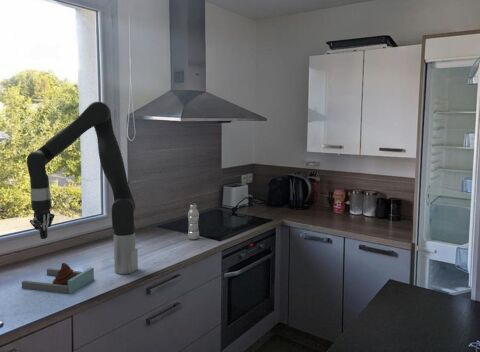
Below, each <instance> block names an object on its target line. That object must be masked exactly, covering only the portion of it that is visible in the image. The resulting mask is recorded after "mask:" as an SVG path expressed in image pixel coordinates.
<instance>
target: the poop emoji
mask: <svg viewBox="0 0 480 352" xmlns="http://www.w3.org/2000/svg"><path fill="white" fill-rule="evenodd" d="M75 271H76V270H74V269H73V268H71V267H70V265H69V264H67V263H66V262H62V263H61V265H60V270H59V271H58V273H57V275H56V276H54V279H53V281H52V284H58V285H67V286H68V280H70V279H71V278H73V277H75V276H76V273H75Z"/></svg>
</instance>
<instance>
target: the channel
mask: <svg viewBox="0 0 480 352" xmlns="http://www.w3.org/2000/svg"><path fill="white" fill-rule="evenodd" d="M60 269H61V268H60ZM60 269H59V268H52V267H48V268H46V275H47V276H54V277H56V275H57V273H58V271H59V270H60ZM74 271H75V273H76V276H75V277H73V278H71V279H70V280H68V286H67V285H58V284H53V283H47V282H40V281H32V280H25V279H24V280H22V281H21V289H28V290H36V291H45V292H51V293H53V292H54V293H59V294H60V293H62V294H73V293H74V292H76V291H78V290H79V289H81V288H83V287H84V286H86V285H87V284H89V283H90V282H92V281H94V279H95V273H94V272H95V268H94V267H88V268H87V269H86V270H84V271H77V270H74Z"/></svg>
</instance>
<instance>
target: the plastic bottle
mask: <svg viewBox="0 0 480 352" xmlns="http://www.w3.org/2000/svg"><path fill="white" fill-rule="evenodd" d="M197 207H198V206H197V203H190V204H189V210H188V212H187V219H188V231H187V238H188V239H189V240H198V239H199V238H200V230H199V216H200V213H199V210H198V209H197Z"/></svg>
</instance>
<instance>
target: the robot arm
mask: <svg viewBox="0 0 480 352" xmlns="http://www.w3.org/2000/svg"><path fill="white" fill-rule="evenodd" d="M92 128H94V130H95V134H96V138H97V140H96V141H97V150H98V157H99V160H100V164H101V165H100V166H101V168H102V172H103V173H104V176H105V177H106V180H107V182H108V183H109V185H110V187H111V191H112V195H113V203H112V206H111V224H112V225H111V227H112V231H113V258H114V259H113V260H114V261H113V262H114V272H115V273H116V274H119V275H127V274H131V275H132V274H133V273H134V272H135V271H138V270H139V264H138V263H139V260H138V259H139V257H138V248H137V247H136V227H135V220H134V219H135V217H134V216H135V215H134V214H135V213H134V212H135V209H136V202H135V200H134V197H133V193H132V192H131V189H130V187H129V183H128V178H127V172H126V169H125V168H126V167H125V163H124V158H123V156H122V152H121V149H120V146H119V143H118V142H119V141H117V138H116V135H115V131H114V127H113V121H112V114H111V109H110V107H109V106H108V105H107V104H106V103H105V102H102V101H96V100H95V101H93V102H91V103H89V105H88V106H87V107H86V108H85V109H84V111H82V113H81V114H80V115H79V116H78V117H76V118H75V119H74V120H73V121H72V122H70V124H68V125H66V126H65V127H64V128H62V129H61V130H60V131H59V132H57V133H56V134H55V135H53V136H52V137H51V138H49V139H48V140H47V141H46V142H45V143H44V145H42V146H41V147H39V148H38V149H37V150H35V151H32V152H30V153H29V154H28V155H27V157H26V167H27V171H28V175H29V181H30V203H31V211H33V218H32V219H30V220H29V223H30V224H31V226H32V227H33V228H34V229H35V231H39V236H40V239H42V240H45V239H47V238H48V234H49V233H48V229H49V228H50V227H51V225H52V223H53V221H54V218H55V214H54V213H52V212H51V209H52V195H51V190H50V189H51V188H50V180H49V175H48V174H47V169H46V168H47V167H46V165H48V164H49V163H50V162H51V161H52V160H53V159H55V158H56V157H57V156H58V155H60V154H62V153H63V152H64V151H65V150H67V148H69V147H70V146H71V145H73V144H74V143H75V142H76V141H77V140H78V139H79V138H80V137H81V136H82V135H83V134H85V133H86V132H87V131H89V130H90V129H92Z"/></svg>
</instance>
